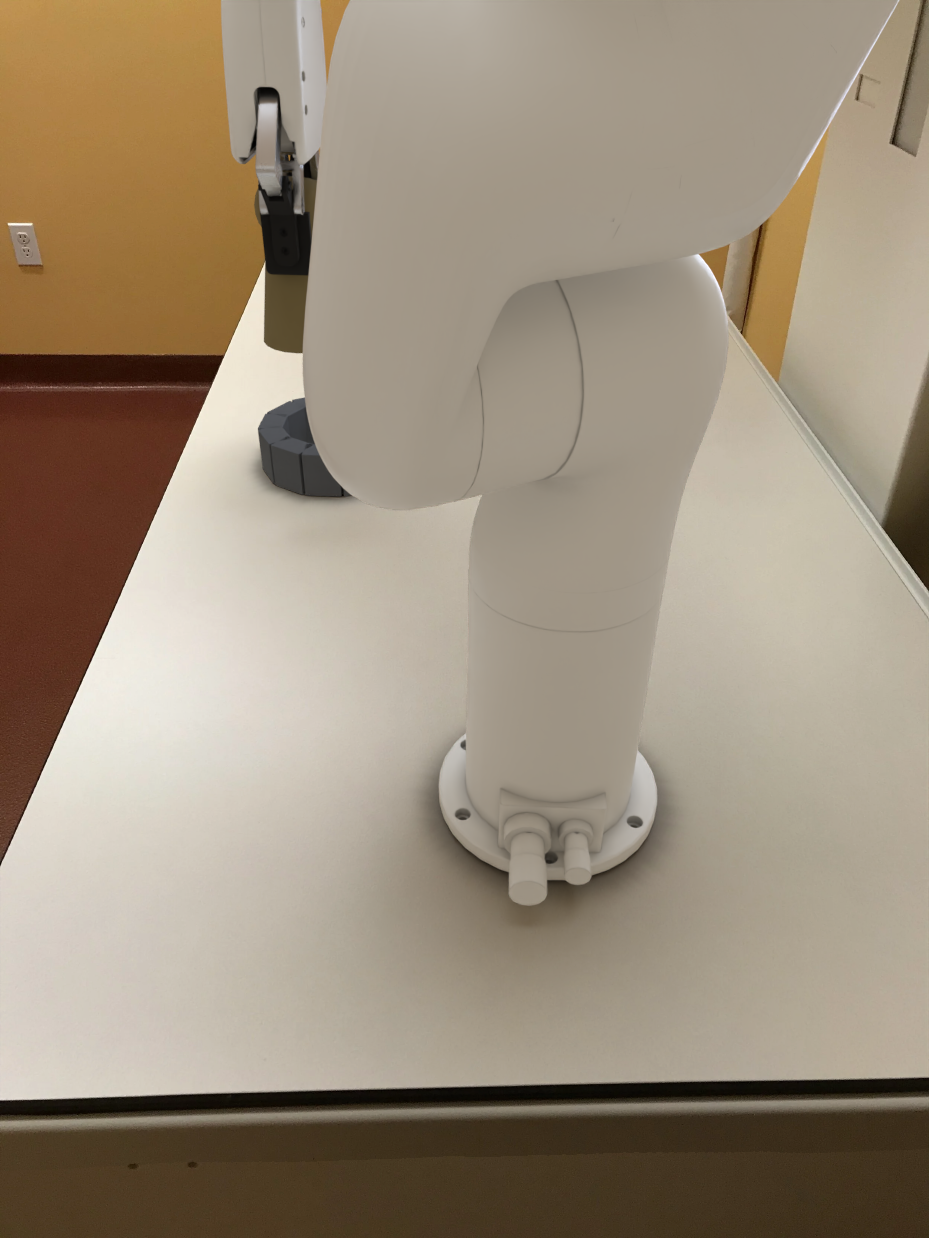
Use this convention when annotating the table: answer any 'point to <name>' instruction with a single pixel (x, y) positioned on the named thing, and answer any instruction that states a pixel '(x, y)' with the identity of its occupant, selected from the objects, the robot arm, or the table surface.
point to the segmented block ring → (294, 452)
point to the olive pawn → (287, 293)
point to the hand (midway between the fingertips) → (298, 257)
